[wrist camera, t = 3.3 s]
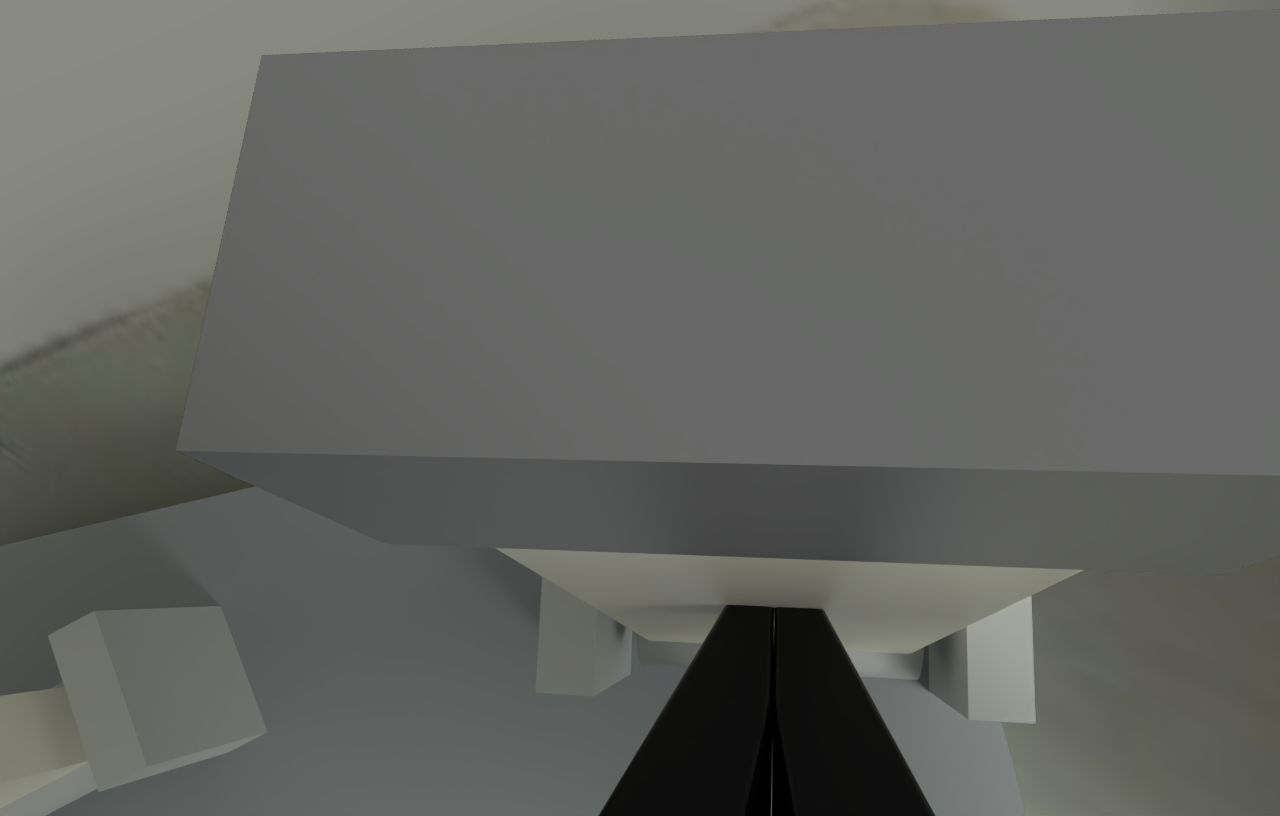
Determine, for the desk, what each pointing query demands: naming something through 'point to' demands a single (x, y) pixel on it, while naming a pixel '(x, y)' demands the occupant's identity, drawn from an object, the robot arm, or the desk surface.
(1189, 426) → the switch
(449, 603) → the grey base plate
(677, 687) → the robot arm
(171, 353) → the desk surface
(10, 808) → the switch
